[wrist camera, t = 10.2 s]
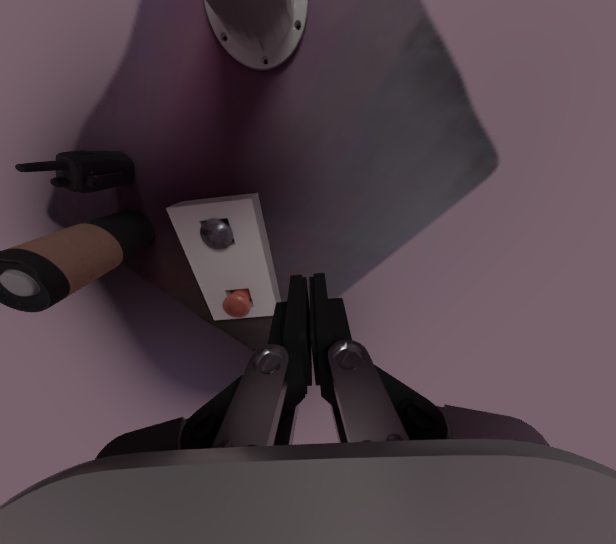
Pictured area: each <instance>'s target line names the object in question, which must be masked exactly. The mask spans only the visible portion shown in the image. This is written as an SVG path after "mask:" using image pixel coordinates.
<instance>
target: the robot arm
mask: <svg viewBox="0 0 616 544" xmlns="http://www.w3.org/2000/svg"><path fill="white" fill-rule="evenodd" d="M204 3H205V9H206V12H207V15H208V19H209V22H210V24H211V26H212V29H213V31H214V33H215V35H216V37H217V38H218V40H219V41H220V43H221V45H222V46H223V47H224V48H225V50H226V51H227V52H228V53H229V54H230V55H231V56H232V57H233V58H234V59H235V60H236V61H238V62H239V63H241V64H242V65H243V66H246V67H248V68H250V69H253V70H259V71H264V70H271V69H274V68H277V67H279V66H280V65H282V64H283V63H285V62H286V61H287V60H288V59H289V58H290V57H291V56H292V55H293V53H294V52H295V50H296V49H297V47H298V45H299V43H300V41H301V39H302V36H303V33H304V29H305V26H306V21H307V13H308V0H204ZM297 26H299V27H300V30H297V29H296V27H297ZM226 37H227V41H226V42H225V41H224V39H225V38H226ZM265 60H267V61H268V63H267V64H264V62H265ZM309 281H310V309H309V299H308V290H307V280H306V277H302V275H291V276H290V284H289V292H288V300H287V302H277V303H276V305H275V310H274V315H273V320H272V325H271V330H270V335H269V341H268V345H265V346H262V347H261V348H259V349H257V350H256V351H255V352H254V353H253V354H252V356H251V358H250V360H249V362H248V364H247V366H246V369H245V371H244V373H243V375H242V376H241V377H239V378H238V379H237V380H235V381H234V382H233V383H232V384H231V385H229V386H228V387H227V388H225V389H224V390H223V391H222V392H220V393H219V394H218V395H216V396H215V397H214V398H213V399H211V400H210V401H209V402H208V403H206V404H205V405H204V406H202V407H201V408H200V409H199V410H198V411H196V412H195V413H194V414H193V415H192V416H191V417H190V418H188V419H184V417H180V418H177V419H173V420H170V421H166V422H163V423H160V424H156V425H153V426H149V427H146V428H143V429H139V430H135V431H132V432H129V433H125V434H123V435H121V436H118V437H116V438H115V439H114V440H112V441H111V442H109V443H108V444H107V445H106V446H105V447H104V448H103V449H102V450H101V452H99V454H98V455H97V457H96V458H95V460H92V461H88V462H85V463H82V464H79V465H76V466H74V467H71V468H68V469H66V470H63V471H61V472H59V473H56V474H55V475H52V476H50V477H48V478H46V479H44V480H42V481H40V482H38V483H36V484H34V485H32V486H31V487H29V488H27V489H25V490H24V491H22V492H20V493H19V494H17V495H15V496H14V497H12V498H11V499H9V500H8V501H7V502H5V503H4V504H3V505H1V506H0V544H616V471H615V470H613V469H611V468H609V467H606V466H604V465H602V464H599V463H597V462H595V461H592V460H590V459H587V458H584V457H582V456H579V455H576V454H574V453H571V452H567V451H564V450H561V449H557V448H554V447H550V446H549V444H548V443H547V441H546V440H545V439H544V437H543V436H542V435H541V434H540V433H539V432H538V431H536V430H535V429H534V428H533V427H532V426H530V425H529V424H527V423H525V422H524V421H522V420H520V419H517V418H514V417H511V416H505V415H500V414H494V413H489V412H483V411H477V410H472V409H467V408H461V407H455V406H450V405H444V407H439V406H435V405H434V404H433V403H432V402H430V401H429V400H428V399H426V398H425V397H423V396H421V395H420V394H419V393H417V392H415V391H414V390H412V389H411V388H409V387H408V386H406V385H405V384H403V383H402V382H400V381H399V380H397V379H396V378H394V377H392V376H391V375H389V374H388V373H386V372H385V371H383V370H381V369H380V368H379V367H377V366H375V365H374V364H373V362H372V360H371V358H370V355H369V354H368V351H367V350H366V348H365V347H364V346H363V345H361V344H360V343H358V342H356V341H353V340H352V338H351V334H350V330H349V325H348V321H347V316H346V312H345V307H344V303H343V299H342V298H334V299H328V297H327V289H326V281H325V274H324V273H317V274H314V277H309ZM311 346H312V355H313V363H314V373H315V382H316V385H320V387H321V396H322V397H323V398H324V399H325V400H326V401H328V403H330V404H331V410H332V415H333V419H334V423H335V428H336V432H337V436H338V440H339V443H328V444H304V445H303V444H302V445H292V442H293V436H294V430H295V425H296V419H297V413H298V404H299V403H300V402H301V401H302V400H303V398H305V394H307V386H311V385H312V362H311Z"/></svg>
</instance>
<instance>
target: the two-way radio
mask: <svg viewBox="0 0 616 544" xmlns="http://www.w3.org/2000/svg"><path fill="white" fill-rule="evenodd" d="M15 168H16V169H17V170H18V171H20V172H36V171H53V170H56V178H53V179H51V180H50V182H51V184H52V185H53V186H55V187H64V188H66V189H68V190H71V191H74V192H81V193H88V192H95V191H100V190H104V189H108V188H112V187H115V186H119V185H123V184H127V183H129V182H130V181H131V180H132V176H133V163H132V161H131V159H130V158H129V157H128V156H127V155H126V154H124V153H123V152H119V151H70V152H62V153H59V154H57V155H56V161H47V162H35V163H25V164H17V165H16V166H15Z"/></svg>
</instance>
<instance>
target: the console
mask: <svg viewBox="0 0 616 544" xmlns="http://www.w3.org/2000/svg"><path fill="white" fill-rule="evenodd" d="M166 210H167V212H168V214H169V217H170V219H171V221H172V224H173V226H174V228H175V231H176V233H177V235H178V238H179V240H180V242H181V245H182V247H183V249H184V252H185V254H186V256H187V258H188V261H189V263H190V265H191V268H192V270H193V272H194V275H195V277H196V279H197V282H198V284H199V286H200V289H201V291H202V293H203V295H204V298H205V300H206V302H207V305H208V307H209V309H210V312H211V314H212V316H213V319H214V320H225V319H238V318H250V317H262V316H273V315H274V310H275V305H276V303H277V302H281V299H280V294H279V289H278V285H277V280H276V275H275V271H274V266H273V261H272V257H271V252H270V247H269V243H268V238H267V233H266V229H265V224H264V219H263V215H262V210H261V205H260V201H259V196H258V193H251V194H242V195H233V196H225V197H216V198H207V199H199V200H190V201H182V202H179V203H177V204H175V205H172V206H170V207H168V208H166ZM223 218H228V221H229V224H230V228H231V229H232V232H233V240H232V242H231V244H230V245H229V246H228V247H227V248H225V249H221V250H217V249H213V248H211V247H209V246H207V245H206V244H205V243H204V242H203V240H202V238H201V236H200V228H201V226H202V224H203V223H204V222H206V221H207V220H209V219H223ZM246 288H249V292H250V295H251V299H250V304H251V308H250V311H249V313H248V314H247V315H246V316H244V317H232V316H230V315H228V314H227V313H226V312H225V311H224V309H223V306H222V304H223V301H224V299H225V298H226V297H227V296H228V295H230V294H231V293H232V291H233V290H235V289H246Z"/></svg>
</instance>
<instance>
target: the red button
mask: <svg viewBox="0 0 616 544" xmlns="http://www.w3.org/2000/svg"><path fill="white" fill-rule="evenodd" d="M250 299H251V295H250V292H249V288H246V289H235V290H233V291H232V293H231V294H230V295H228V296H227V297H226V298H225V299H224V301H223V304H222V306H223V309H224V311H225V312H226V313H227V314H228V315H230V316H232V317H244V316H246V315H247V314H248V313H249V311H250V308H251V304H250Z"/></svg>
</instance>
